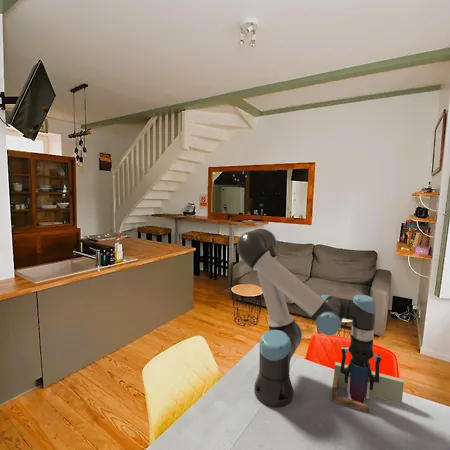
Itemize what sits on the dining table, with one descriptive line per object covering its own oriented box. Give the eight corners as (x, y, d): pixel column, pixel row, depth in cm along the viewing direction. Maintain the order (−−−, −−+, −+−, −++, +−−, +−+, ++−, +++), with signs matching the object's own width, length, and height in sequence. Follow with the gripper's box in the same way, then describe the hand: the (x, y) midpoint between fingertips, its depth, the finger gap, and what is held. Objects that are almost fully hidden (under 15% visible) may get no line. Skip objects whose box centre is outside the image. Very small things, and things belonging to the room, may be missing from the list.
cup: (369, 406, 105) (372, 369, 103) (350, 403, 106) (352, 366, 104) (364, 393, 111) (366, 358, 110) (345, 391, 113) (348, 356, 111)
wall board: (333, 384, 116) (334, 364, 115) (334, 382, 118) (335, 362, 117) (401, 404, 106) (403, 382, 105) (400, 401, 108) (403, 379, 106)
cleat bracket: (331, 401, 107) (331, 389, 107) (333, 384, 116) (334, 373, 116) (369, 413, 102) (370, 400, 101) (368, 395, 111) (369, 383, 110)
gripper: (334, 335, 106) (330, 391, 109) (392, 348, 98) (386, 408, 101) (335, 327, 113) (332, 380, 116) (390, 338, 105) (385, 395, 108)
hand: (357, 393), depth 108 cm, fingers closed on cup, 6 cm apart
